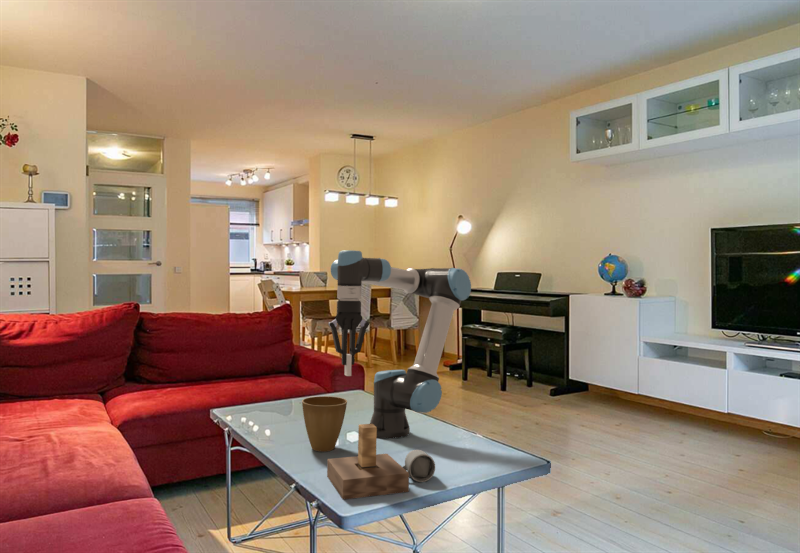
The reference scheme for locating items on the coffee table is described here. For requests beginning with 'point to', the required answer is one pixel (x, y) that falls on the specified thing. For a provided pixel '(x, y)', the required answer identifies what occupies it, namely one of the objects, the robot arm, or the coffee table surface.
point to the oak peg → (367, 446)
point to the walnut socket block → (367, 477)
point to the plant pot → (323, 420)
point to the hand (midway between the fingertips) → (347, 375)
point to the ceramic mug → (419, 465)
